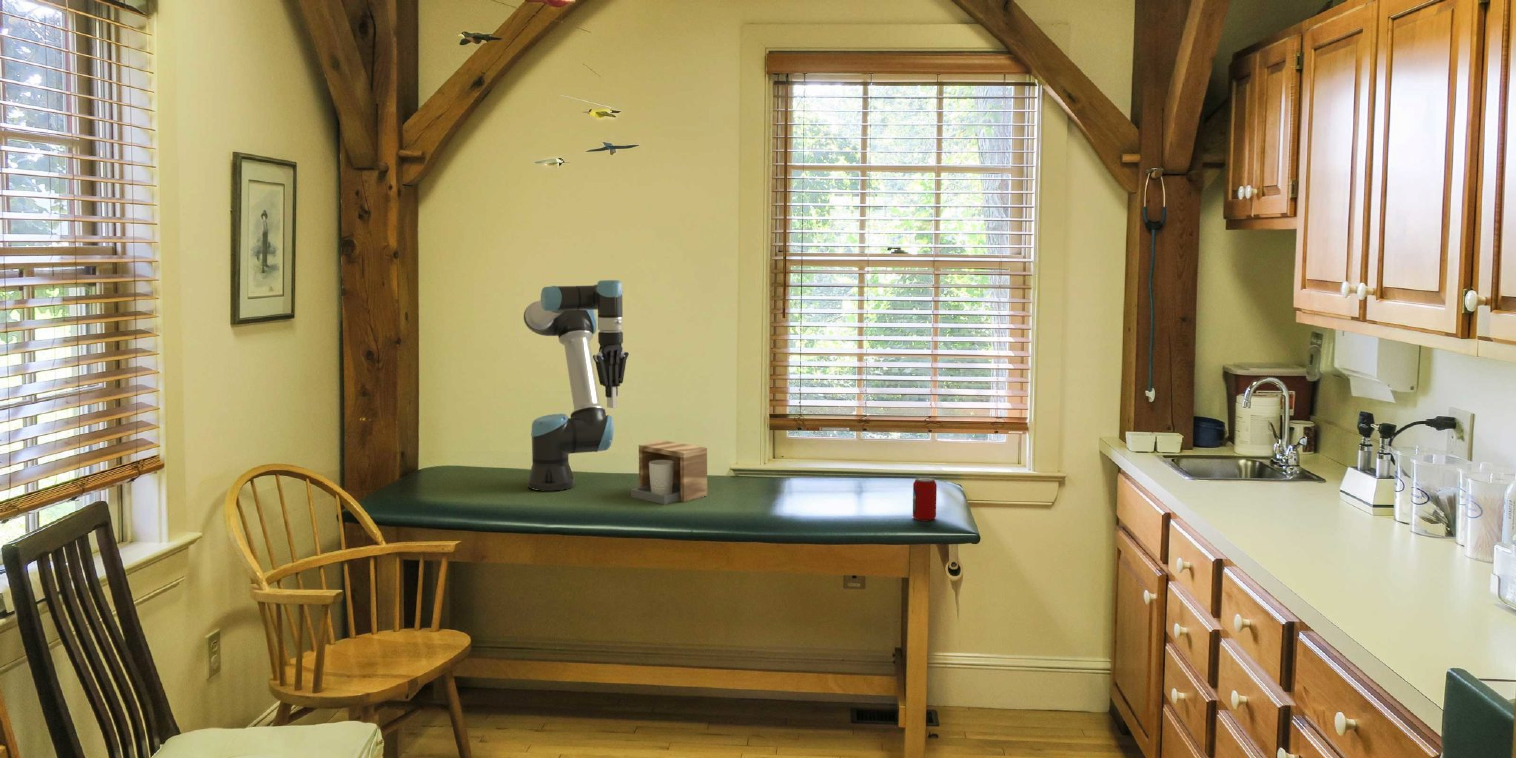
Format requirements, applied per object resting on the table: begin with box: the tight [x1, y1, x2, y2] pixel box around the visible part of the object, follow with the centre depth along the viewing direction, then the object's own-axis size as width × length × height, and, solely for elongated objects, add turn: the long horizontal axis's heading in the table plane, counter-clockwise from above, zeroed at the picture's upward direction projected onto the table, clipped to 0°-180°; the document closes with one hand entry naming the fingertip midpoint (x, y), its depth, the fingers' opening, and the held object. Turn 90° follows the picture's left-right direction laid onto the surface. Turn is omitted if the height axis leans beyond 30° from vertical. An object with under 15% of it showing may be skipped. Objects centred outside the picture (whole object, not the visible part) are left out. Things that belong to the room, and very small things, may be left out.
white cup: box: [649, 460, 674, 495], centre depth 364 cm, size 8×8×10 cm
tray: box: [630, 483, 681, 505], centre depth 365 cm, size 15×15×2 cm
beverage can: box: [912, 476, 938, 522], centre depth 336 cm, size 7×7×12 cm
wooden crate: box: [638, 439, 708, 503], centre depth 367 cm, size 20×10×16 cm, turn 50°
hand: (611, 407), depth 355 cm, fingers closed
